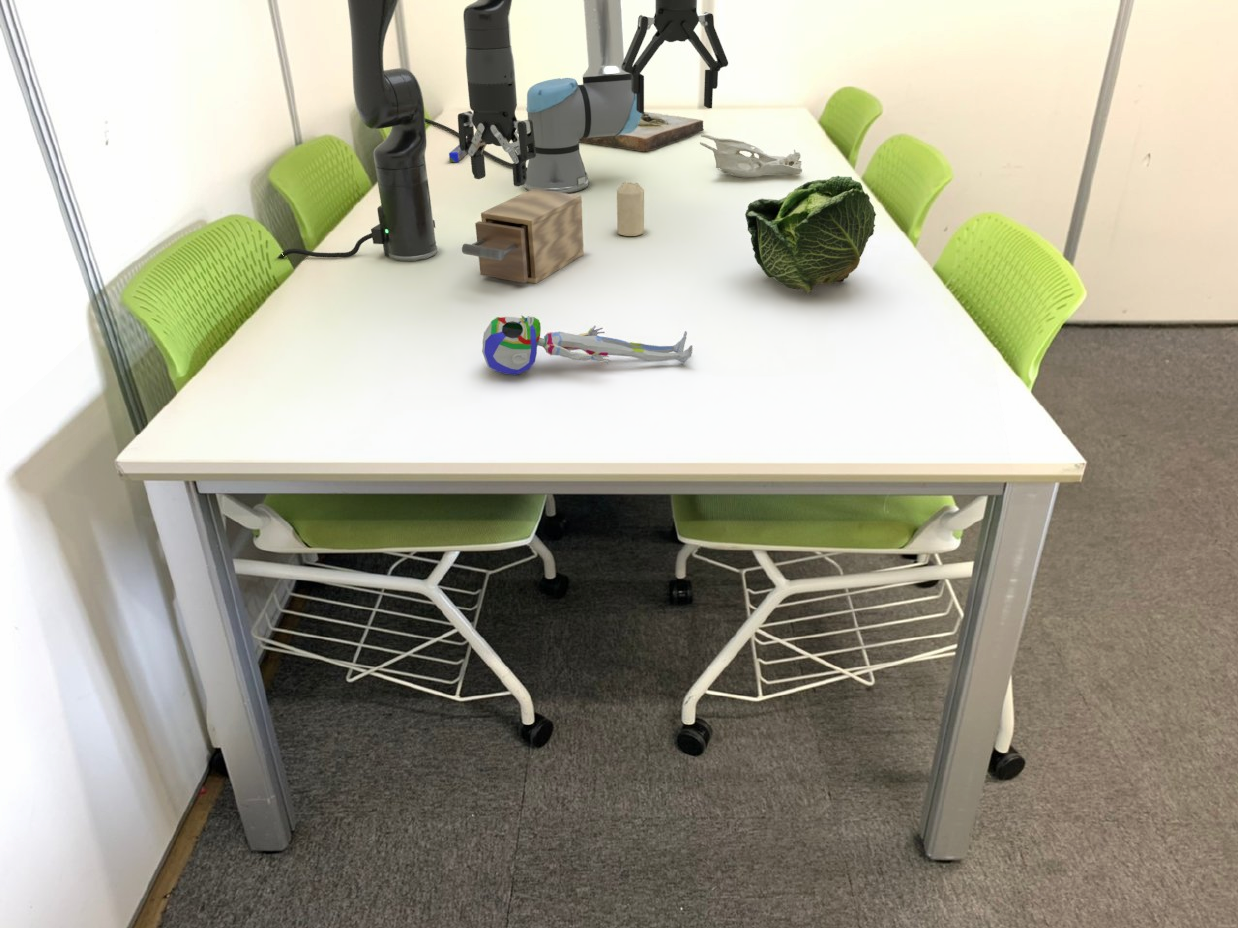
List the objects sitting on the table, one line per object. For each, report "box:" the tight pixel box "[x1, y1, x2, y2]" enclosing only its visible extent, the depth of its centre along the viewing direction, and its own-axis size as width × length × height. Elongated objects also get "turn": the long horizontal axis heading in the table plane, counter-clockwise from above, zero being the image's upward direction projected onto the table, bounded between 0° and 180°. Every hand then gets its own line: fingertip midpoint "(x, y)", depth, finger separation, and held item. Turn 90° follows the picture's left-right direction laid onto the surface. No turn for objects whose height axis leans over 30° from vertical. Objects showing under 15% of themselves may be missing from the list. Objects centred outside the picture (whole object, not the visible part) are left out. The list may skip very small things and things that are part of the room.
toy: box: [481, 315, 694, 376], centre depth 131 cm, size 10×8×30 cm
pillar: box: [448, 137, 468, 163], centre depth 243 cm, size 2×2×20 cm
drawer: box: [461, 219, 531, 284], centre depth 162 cm, size 22×10×10 cm, turn 152°
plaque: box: [579, 111, 705, 152], centre depth 257 cm, size 30×7×30 cm
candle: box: [616, 181, 645, 237], centre depth 181 cm, size 6×6×10 cm
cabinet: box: [480, 189, 585, 284], centre depth 166 cm, size 17×11×11 cm, turn 152°
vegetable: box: [744, 175, 877, 294], centre depth 154 cm, size 20×19×20 cm
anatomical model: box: [699, 133, 803, 178], centre depth 218 cm, size 15×9×25 cm
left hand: (499, 181), depth 150 cm, fingers open, 8 cm apart
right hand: (674, 109), depth 172 cm, fingers open, 13 cm apart
